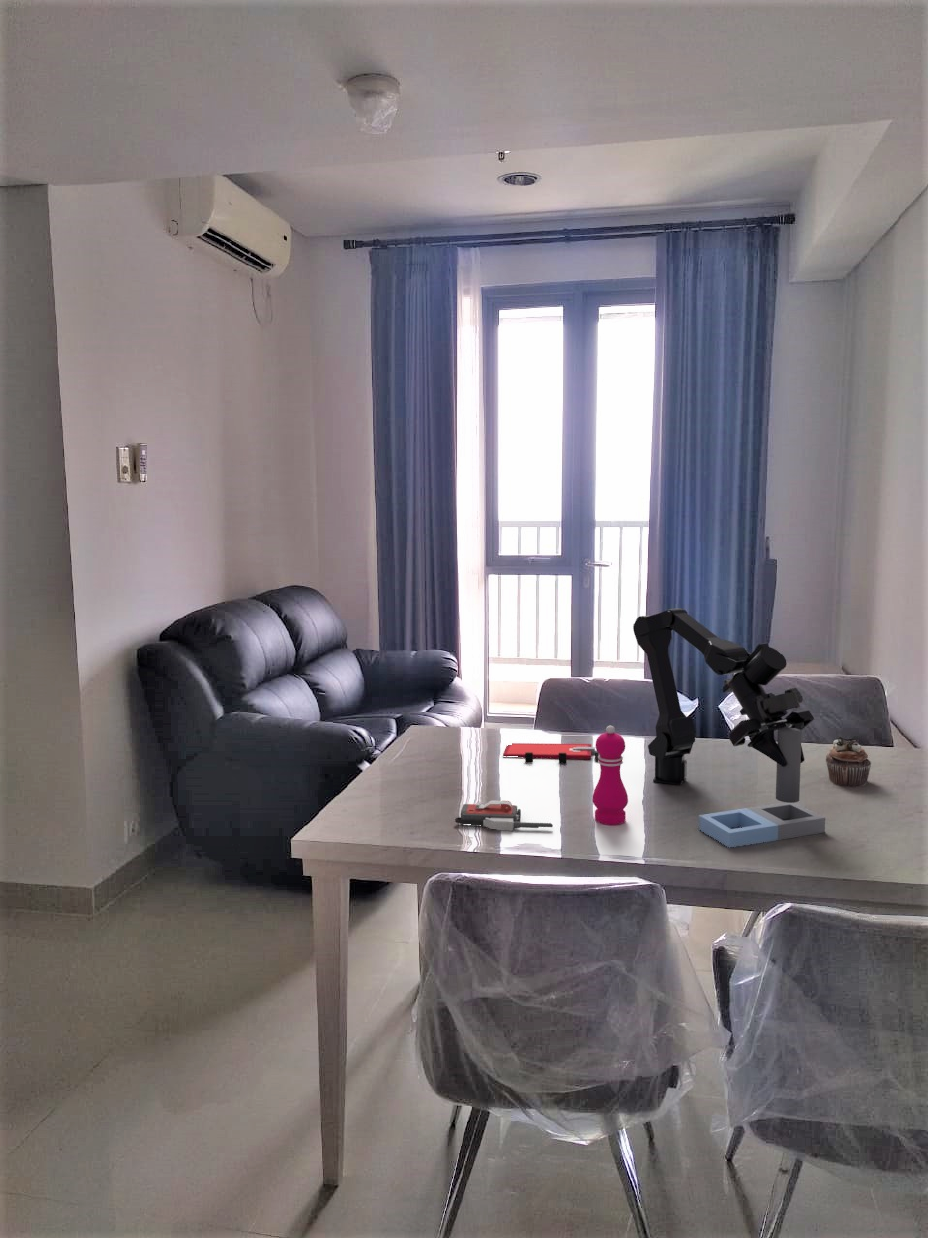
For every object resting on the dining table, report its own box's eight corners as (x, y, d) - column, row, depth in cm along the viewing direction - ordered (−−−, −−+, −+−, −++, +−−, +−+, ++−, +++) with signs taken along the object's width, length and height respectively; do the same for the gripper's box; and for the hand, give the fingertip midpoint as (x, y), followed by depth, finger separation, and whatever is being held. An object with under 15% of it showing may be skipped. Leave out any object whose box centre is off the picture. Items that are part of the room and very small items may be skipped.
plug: (774, 801, 172) (776, 732, 170) (776, 794, 176) (778, 726, 174) (798, 804, 170) (800, 734, 168) (800, 796, 174) (802, 728, 172)
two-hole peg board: (728, 848, 164) (729, 833, 163) (698, 829, 173) (699, 815, 173) (824, 832, 171) (825, 817, 170) (790, 815, 180) (791, 801, 180)
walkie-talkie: (453, 831, 176) (552, 834, 173) (453, 810, 175) (552, 813, 173) (459, 815, 185) (553, 818, 182) (458, 795, 184) (553, 798, 181)
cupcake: (875, 789, 195) (877, 745, 194) (829, 787, 197) (831, 744, 196) (864, 775, 204) (866, 734, 203) (821, 773, 206) (822, 732, 205)
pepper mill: (630, 815, 182) (630, 722, 179) (625, 827, 175) (625, 731, 172) (596, 812, 184) (596, 720, 181) (589, 824, 177) (589, 729, 175)
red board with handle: (621, 765, 216) (619, 749, 231) (621, 754, 216) (619, 739, 231) (501, 763, 221) (507, 748, 236) (501, 753, 221) (507, 738, 235)
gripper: (741, 681, 169) (784, 750, 161) (808, 670, 177) (852, 735, 169) (711, 712, 177) (750, 779, 169) (776, 700, 185) (817, 764, 177)
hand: (794, 763), depth 171 cm, fingers closed on plug, 4 cm apart
